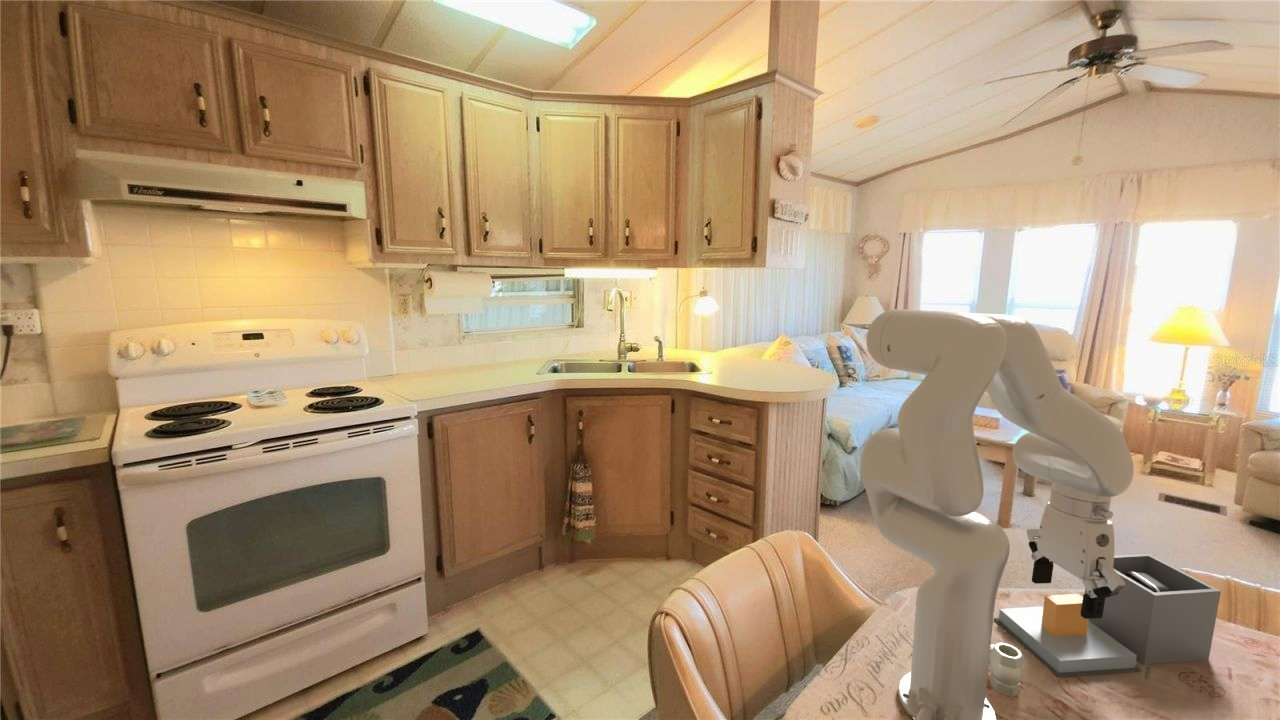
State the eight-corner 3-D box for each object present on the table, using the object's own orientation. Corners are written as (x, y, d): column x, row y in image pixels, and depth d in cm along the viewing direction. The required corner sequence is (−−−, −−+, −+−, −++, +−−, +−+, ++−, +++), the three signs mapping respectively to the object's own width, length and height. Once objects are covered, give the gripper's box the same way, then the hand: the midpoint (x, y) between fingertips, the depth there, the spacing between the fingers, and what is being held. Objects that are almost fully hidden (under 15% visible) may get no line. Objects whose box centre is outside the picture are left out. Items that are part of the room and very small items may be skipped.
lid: (1058, 672, 83) (1064, 626, 82) (998, 619, 96) (1002, 579, 95) (1135, 667, 84) (1142, 622, 83) (1065, 615, 97) (1070, 575, 95)
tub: (1143, 664, 85) (1154, 595, 83) (1081, 619, 96) (1089, 557, 94) (1208, 659, 86) (1220, 591, 84) (1138, 615, 97) (1148, 553, 95)
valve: (1035, 699, 79) (986, 643, 91) (1039, 660, 78) (989, 609, 90) (990, 698, 79) (947, 643, 91) (994, 660, 78) (950, 609, 90)
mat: (1058, 677, 83) (1058, 675, 83) (993, 619, 97) (994, 618, 97) (1140, 671, 84) (1140, 669, 84) (1064, 615, 98) (1065, 613, 97)
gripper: (1154, 528, 78) (1136, 632, 80) (1055, 483, 95) (1043, 570, 97) (1107, 529, 77) (1090, 633, 80) (1016, 484, 94) (1005, 571, 97)
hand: (1064, 599), depth 88 cm, fingers open, 9 cm apart
